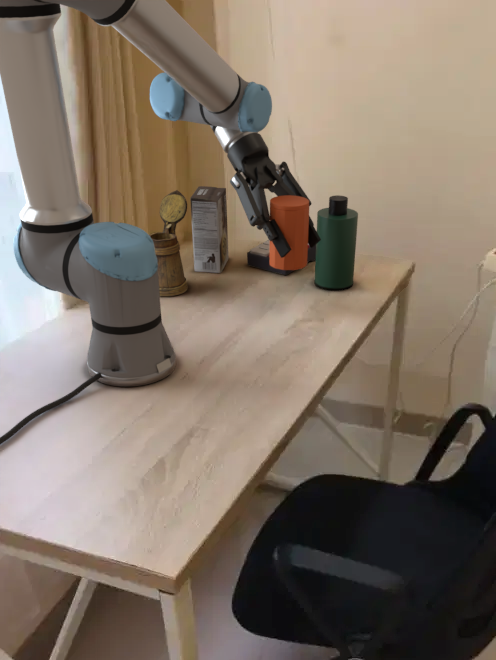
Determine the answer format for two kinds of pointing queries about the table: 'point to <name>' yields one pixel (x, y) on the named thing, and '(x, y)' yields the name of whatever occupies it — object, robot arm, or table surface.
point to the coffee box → (209, 229)
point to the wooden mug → (170, 246)
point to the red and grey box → (261, 258)
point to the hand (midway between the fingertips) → (301, 248)
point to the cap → (290, 231)
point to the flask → (336, 245)
